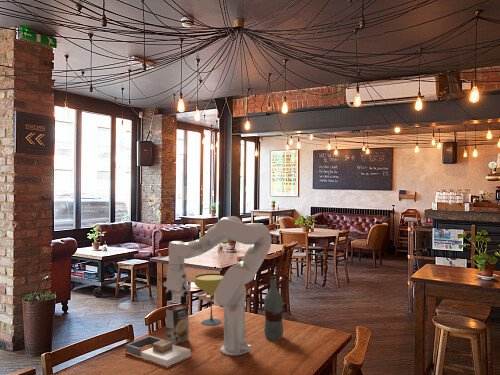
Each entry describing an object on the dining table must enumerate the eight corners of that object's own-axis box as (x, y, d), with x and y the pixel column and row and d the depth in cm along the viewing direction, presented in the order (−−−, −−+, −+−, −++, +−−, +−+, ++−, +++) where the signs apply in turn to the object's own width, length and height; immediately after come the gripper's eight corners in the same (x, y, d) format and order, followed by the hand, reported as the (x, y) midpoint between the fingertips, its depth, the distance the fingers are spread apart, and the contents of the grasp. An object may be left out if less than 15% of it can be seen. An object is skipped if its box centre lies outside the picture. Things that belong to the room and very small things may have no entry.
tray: (164, 348, 195) (164, 339, 195) (140, 358, 183) (140, 349, 183) (149, 344, 201) (149, 335, 201) (125, 353, 189) (125, 344, 189)
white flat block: (190, 356, 185) (190, 349, 185) (167, 367, 174) (166, 360, 174) (165, 348, 195) (164, 342, 195) (141, 358, 183) (140, 351, 183)
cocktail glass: (234, 320, 235) (233, 275, 235) (215, 329, 220) (214, 281, 220) (207, 315, 245) (207, 272, 245) (188, 324, 229) (187, 278, 229)
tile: (172, 349, 186) (172, 342, 186) (162, 353, 181) (162, 346, 181) (163, 346, 190) (162, 339, 190) (152, 350, 185) (152, 343, 185)
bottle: (262, 340, 204) (262, 278, 204) (266, 333, 213) (265, 274, 213) (281, 341, 202) (281, 278, 202) (284, 335, 211) (284, 275, 211)
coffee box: (174, 345, 198) (174, 311, 198) (165, 342, 202) (165, 308, 202) (189, 340, 205) (188, 307, 205) (180, 337, 210) (180, 304, 210)
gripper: (195, 267, 202) (194, 303, 202) (169, 263, 212) (169, 297, 212) (184, 270, 196) (183, 307, 196) (158, 266, 206) (158, 301, 206)
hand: (176, 302), depth 204 cm, fingers open, 9 cm apart
